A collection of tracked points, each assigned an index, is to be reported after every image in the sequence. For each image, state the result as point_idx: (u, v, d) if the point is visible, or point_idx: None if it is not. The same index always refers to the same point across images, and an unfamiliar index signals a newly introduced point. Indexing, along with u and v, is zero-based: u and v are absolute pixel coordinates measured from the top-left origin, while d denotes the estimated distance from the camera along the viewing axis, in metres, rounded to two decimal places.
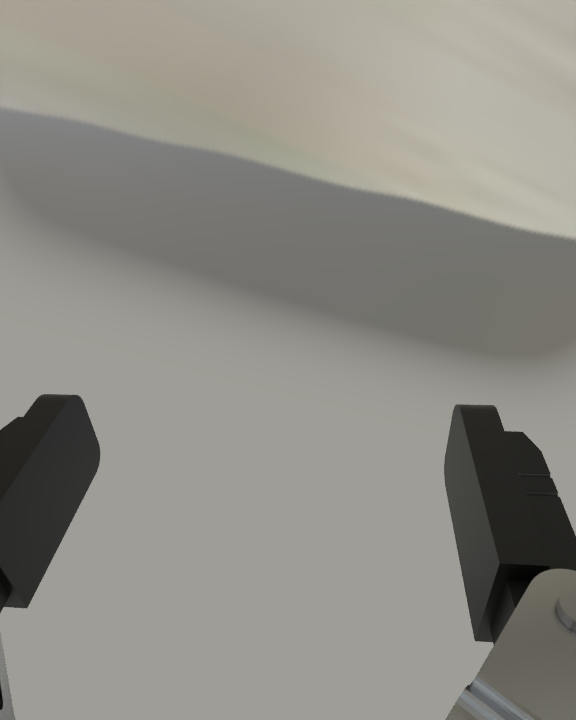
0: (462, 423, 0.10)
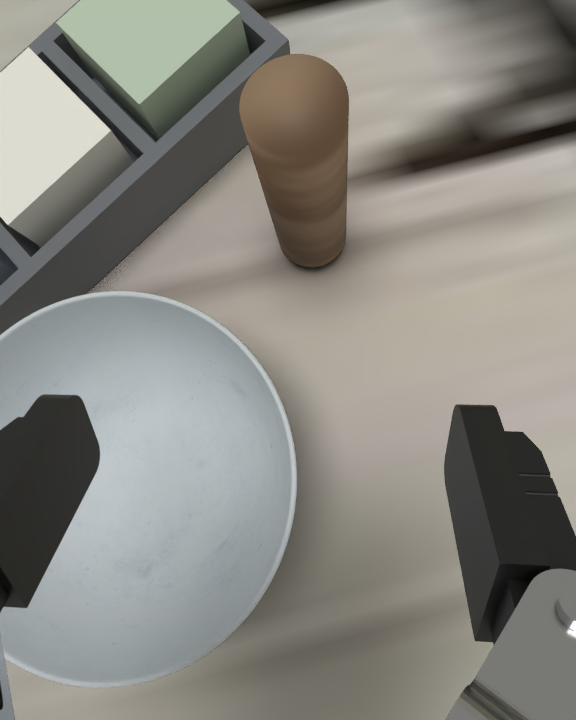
0: (462, 423, 0.10)
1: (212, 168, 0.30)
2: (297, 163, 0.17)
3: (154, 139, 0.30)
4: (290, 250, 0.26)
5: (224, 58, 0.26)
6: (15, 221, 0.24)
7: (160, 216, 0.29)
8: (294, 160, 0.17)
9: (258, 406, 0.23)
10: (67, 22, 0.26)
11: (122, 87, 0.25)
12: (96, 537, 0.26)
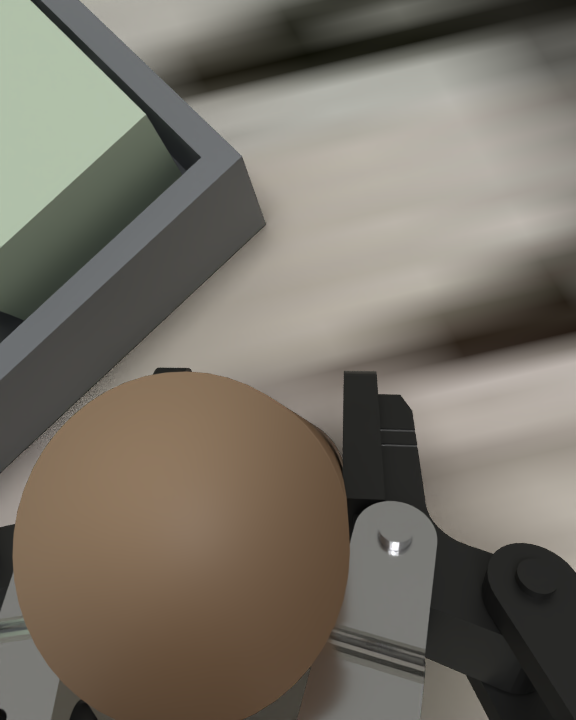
0: None
1: (124, 345, 0.18)
2: None
3: None
4: None
5: (127, 186, 0.15)
6: None
7: (38, 426, 0.18)
8: (180, 713, 0.06)
9: None
10: None
11: None
12: None
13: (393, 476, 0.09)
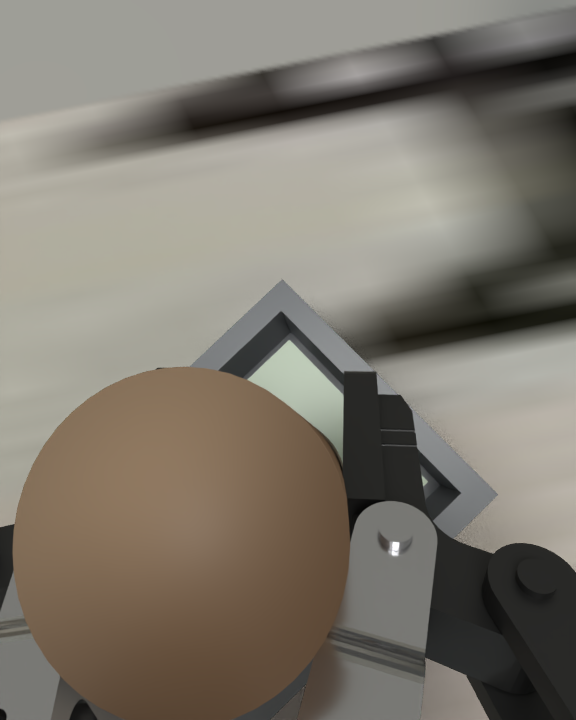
0: None
1: None
2: None
3: None
4: None
5: None
6: None
7: None
8: (180, 710, 0.06)
9: None
10: None
11: None
12: None
13: (393, 476, 0.09)
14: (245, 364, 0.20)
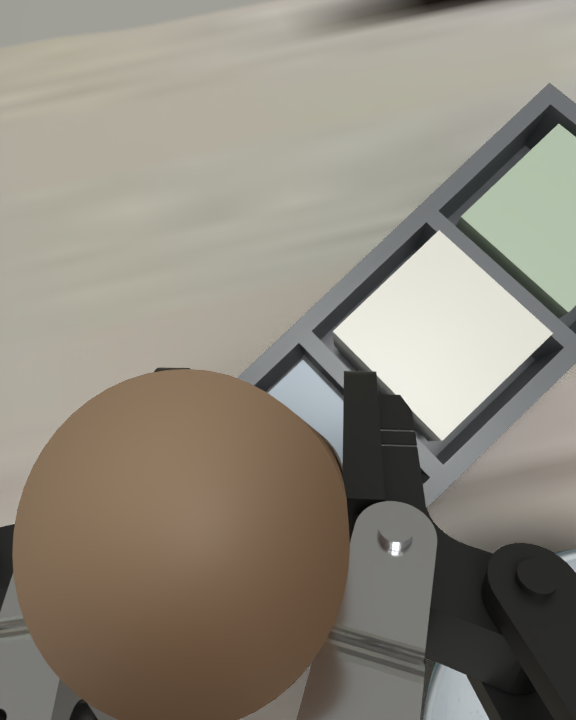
0: None
1: None
2: None
3: None
4: None
5: None
6: (447, 435, 0.22)
7: None
8: (180, 713, 0.06)
9: None
10: (474, 216, 0.25)
11: (545, 291, 0.24)
12: None
13: (393, 476, 0.09)
14: (503, 159, 0.27)
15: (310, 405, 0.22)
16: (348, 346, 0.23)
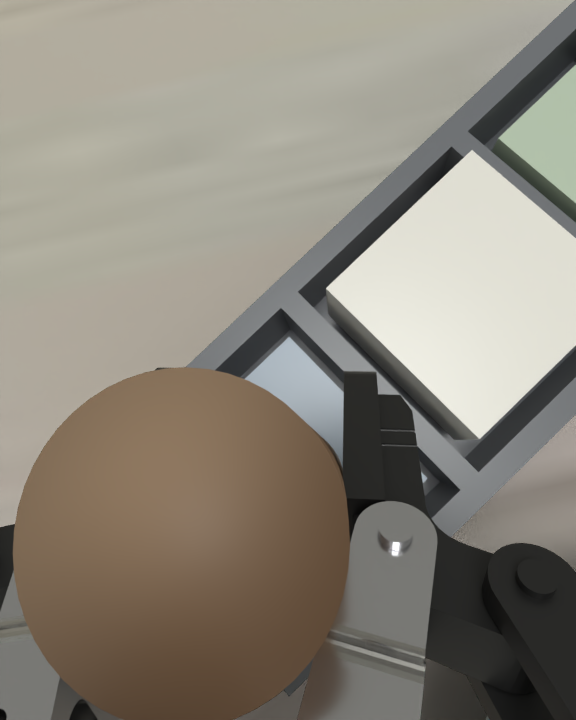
0: None
1: None
2: None
3: None
4: None
5: None
6: (486, 431, 0.16)
7: None
8: (180, 710, 0.06)
9: None
10: (516, 138, 0.18)
11: None
12: None
13: (393, 476, 0.09)
14: (548, 73, 0.21)
15: (298, 395, 0.18)
16: (347, 309, 0.16)
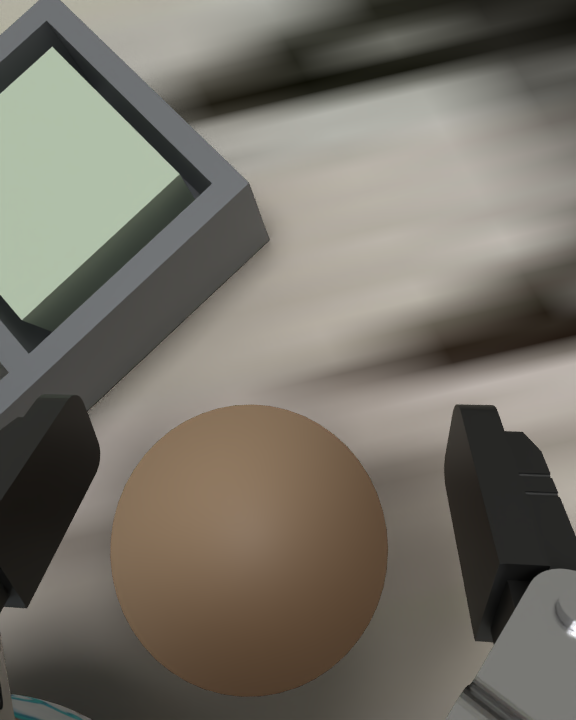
0: (462, 423, 0.10)
1: (139, 352, 0.19)
2: None
3: None
4: None
5: (161, 228, 0.18)
6: None
7: None
8: (248, 683, 0.07)
9: None
10: None
11: None
12: None
13: (541, 532, 0.08)
14: None
15: None
16: None
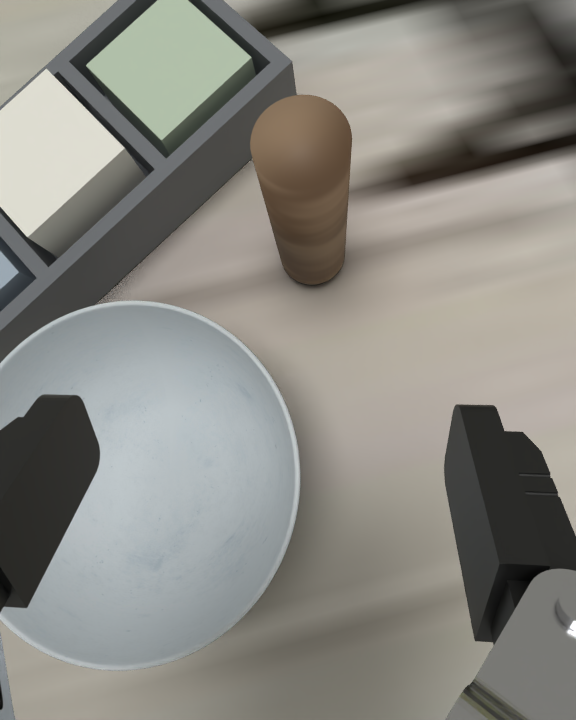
0: (462, 423, 0.10)
1: (218, 181, 0.31)
2: (305, 195, 0.19)
3: None
4: (293, 269, 0.27)
5: None
6: (34, 234, 0.26)
7: (169, 226, 0.31)
8: (302, 193, 0.19)
9: (263, 408, 0.25)
10: (96, 65, 0.29)
11: (146, 124, 0.28)
12: (110, 532, 0.27)
13: (541, 532, 0.08)
14: None
15: None
16: None
